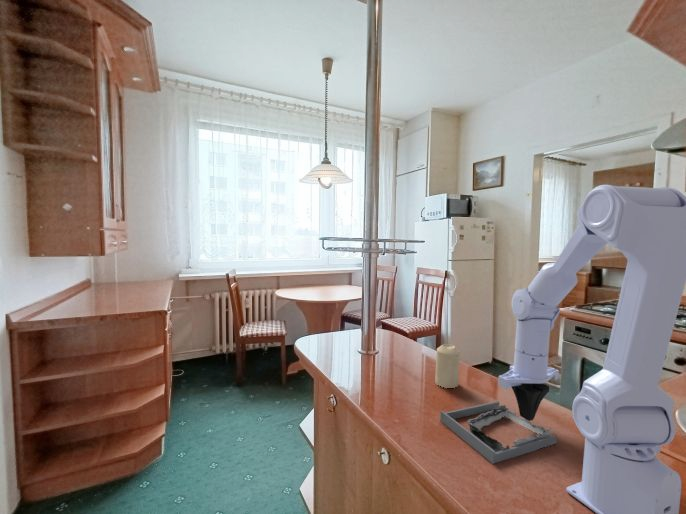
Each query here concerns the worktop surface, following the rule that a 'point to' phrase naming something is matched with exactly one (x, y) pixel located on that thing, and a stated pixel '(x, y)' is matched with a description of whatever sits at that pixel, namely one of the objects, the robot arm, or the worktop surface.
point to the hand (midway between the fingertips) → (526, 417)
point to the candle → (447, 366)
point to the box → (481, 446)
